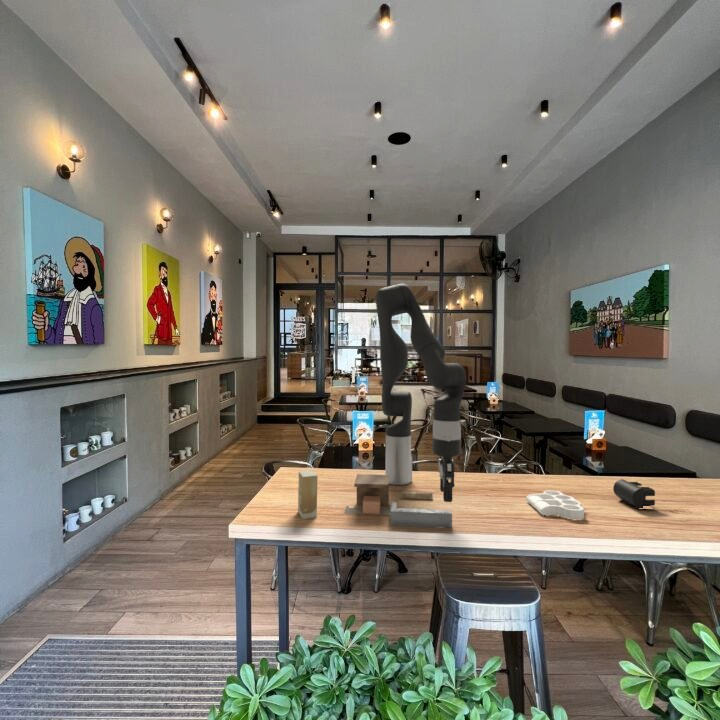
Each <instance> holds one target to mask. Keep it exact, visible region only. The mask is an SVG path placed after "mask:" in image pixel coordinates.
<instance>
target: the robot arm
mask: <svg viewBox="0 0 720 720" xmlns="http://www.w3.org/2000/svg"><path fill="white" fill-rule="evenodd" d="M375 306H376V313H377V314H376V315H377V320H378V329H379V342H380V343H379V344H380V346H379V347H380V348H379V351H380V353H379V354H380V366H381V367H380V368H381V379H382V380H381V381H382V385H381V407H382V409H381V410H382V413H383V414H384V415H385V416H387V417H402V418H401V420H400V421H398V422H396V423H393V424H390V425H388V426H386V428H385V473H384V475H389V485H393V486H405V485H409V484H410V483H411V482H412V481H413V455H412V452H411V451H412V448H411V447H412V440H411V439H412V407H413V398H412V394H411V392H410V391H405V390H403V391H400V390H394V391H393V390H392V389H393V388H394V385H396V382H397V381H398V380H399V379H400V378H401V376H403V374H404V373H405V371H406V369H407V368H408V364H409V363H408V362H409V361H408V359H409V358H408V356H409V355H408V351H409V349H408V346H407V343H406V342H405V340H403V338H402V337H401V336H400V335H399V334H398V333H397V331H396V330H395V329H394V327H393V322H392V321H393V320H392V319H393V317H395V316H398V315H402V314H408V316H409V317H410V320H411V321H410V322H411V328H410V343H411V345H412V348H413V349H414V350H415V352H416V354H417V355H418V357H419V358H420V360H421V361H422V364H423V365H422V366H423V368H424V372H425V375H426V379H427V381H428V382H429V383H430V385H431V386H433V387H434V388H435V389H438V390H444V391H443V393H442V396H439V397H438V398H436V399H435V400H434V401H433V402H434V403H433V423H432V450H431V452H432V453H433V455H436V456H439V457H438V463H437V464H438V474H439V478H440V479H439V480H440V481H439V484H440V485H439V490H440V492H443V495H442V497H443V499H442V500H443V501H444V502H446V503H452V502H453V488H454V487H455V467H456V465H455V461H454V460H453V457H458V456H460V455H461V453H462V450H461V449H462V427H461V426H462V425H461V403H462V400H463V397H464V392H465V389H466V385H467V374H466V370H465V368H464V366H462V365H461V364H460V363H457V362H444V361H443V360H444V358H445V355H446V350H445V349H444V347H443V345H442V343H441V342H440V341H439V339H438V338H437V337H436V335H435V334H434V332H433V330H432V329H431V327H430V325H429V324H428V322H427V319H426V318H425V315H424V313H423V311H422V308H421V307H420V303H419V302H418V300H417V298H416V295H415V294H414V292H413V290H412V289H411V287H410V286H409V285H408V284H406V283H397V284H393V285H390V286H385V287H382V288H380V289H378V290H377V291H376V294H375ZM449 480H450V481H449Z"/></svg>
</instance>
